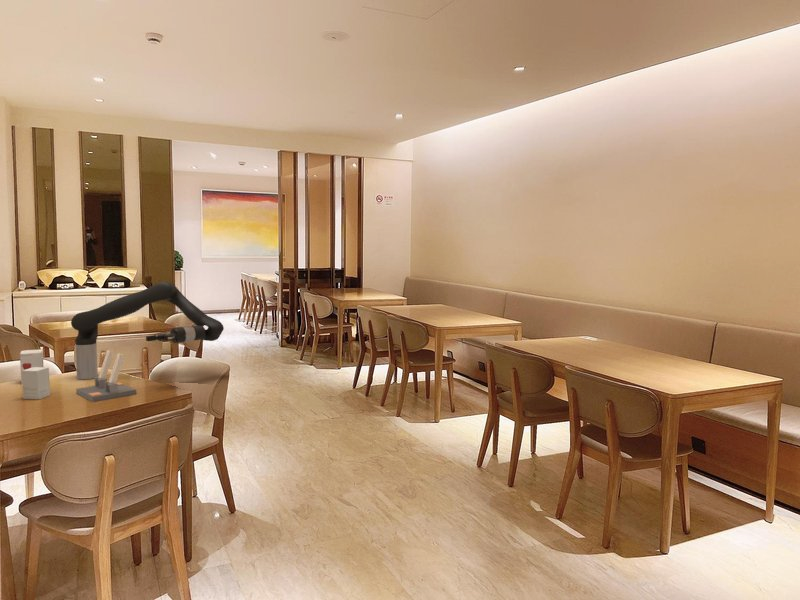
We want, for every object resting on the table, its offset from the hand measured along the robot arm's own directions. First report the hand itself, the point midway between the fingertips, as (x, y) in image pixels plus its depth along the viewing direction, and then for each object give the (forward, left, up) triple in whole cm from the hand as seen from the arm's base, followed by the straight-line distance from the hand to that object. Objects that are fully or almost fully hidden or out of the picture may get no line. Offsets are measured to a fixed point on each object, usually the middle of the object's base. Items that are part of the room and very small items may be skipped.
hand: (146, 338), depth 252 cm
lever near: (0, -17, -20) cm, 26 cm away
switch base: (-6, -16, -24) cm, 29 cm away
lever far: (-12, -17, -20) cm, 28 cm away
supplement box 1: (-55, -32, -24) cm, 68 cm away
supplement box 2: (-21, -39, -24) cm, 50 cm away
